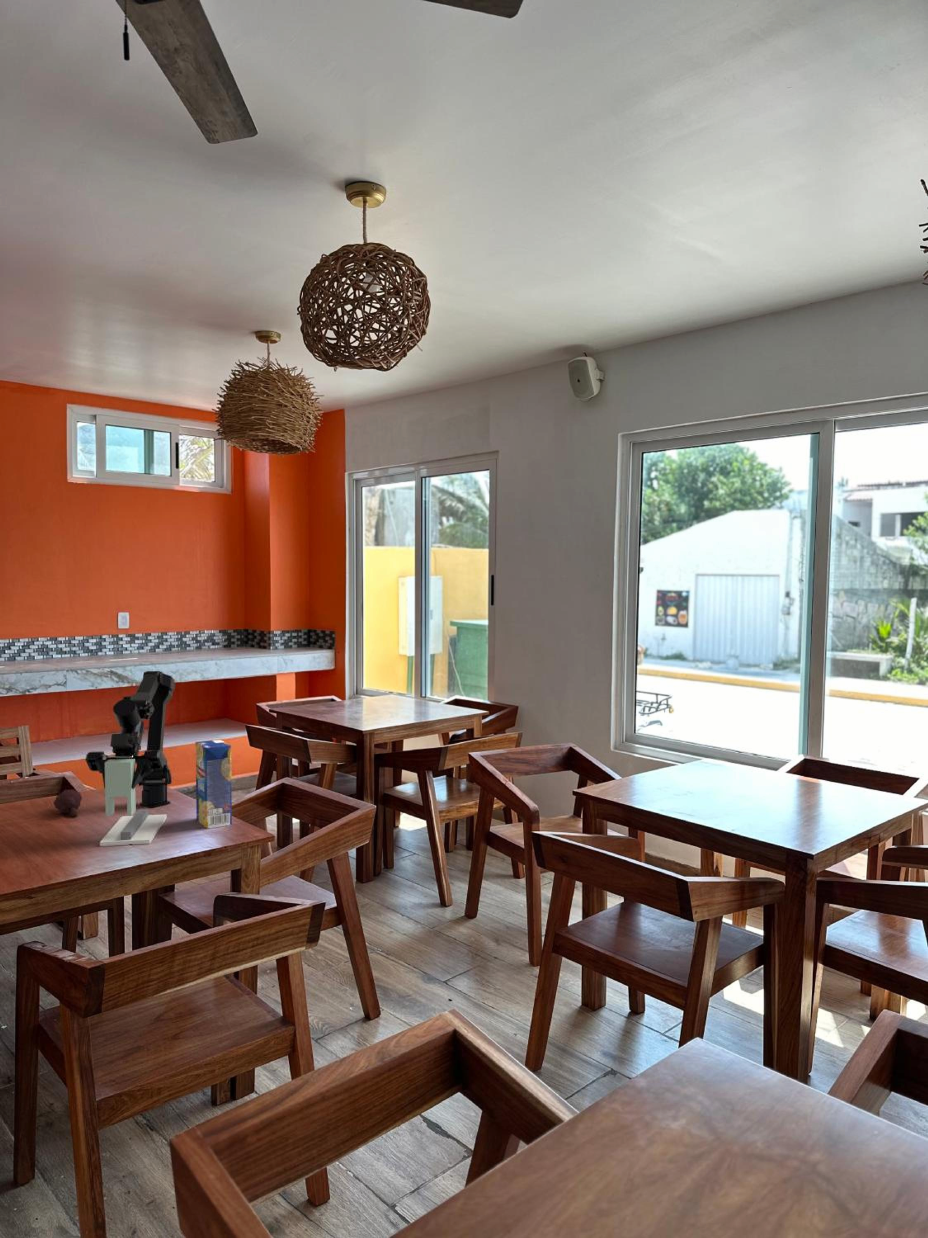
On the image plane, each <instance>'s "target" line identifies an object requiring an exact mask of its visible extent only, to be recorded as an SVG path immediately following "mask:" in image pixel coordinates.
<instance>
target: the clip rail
mask: <svg viewBox="0 0 928 1238" xmlns="http://www.w3.org/2000/svg"><path fill="white" fill-rule="evenodd" d="M166 820H167V813H166V814H149V809H148V808H143V809H142V808H141V809H138V810H136V812H135V813H134V814H133V815H132V816H127V815H125V816H124V815H123V816H121V817H120V818H119V819H118V821H116V823H115V824H114V825H113V826H112V827H111V828H110V829H109V831H108V832H107V833H106V834H105V836H103V838H102V839H101V840H100V841H99V847H108V846H110V847H112V846H113V847H114V846H128V845H129V844H133V845H143V844H144V845H150V844H151V843H152V841H153V839H154V837H155V836H156V835H157V834H158V832H159V830H160V829H161V827H162V826H163V824H164V823H165V821H166Z"/></svg>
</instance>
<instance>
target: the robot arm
mask: <svg viewBox="0 0 928 1238" xmlns="http://www.w3.org/2000/svg"><path fill="white" fill-rule="evenodd" d="M175 689H176V680H175V679H174V678H173V676H171V675H169V674H166V673H164V672H162V671H160V670H146V671H144V672H143V676H142V679H141V682H139V685H138V688H137V689H136V691H135V693H134V694H131V695H130V696H123V698H122V699H121V700H118V701H117V702H116V703H115V704H114V705H113V707H112V710H113V711H112V712H113V714H114V717H115V719H116V721H117V724H118V726H119V727H120V729H121V730H120V732H119V733H112V734H111V737H110V743H109V744H110V745H109V746H110V747H111V748H112V750H111V752H112V753H113V754H114V755H107V754H106V753H105V752H104V751H101V750H99V751H89V752H88V753H86V756H85V762H86V765H87V766H88V768H89V771H92V772H98V773H100V774H101V775H102V783H103V787H104V788H103V789H105V762H107V761H108V760H110V759H135V765H136V766H135V774H134V777H133V780H132V786H131V787H132V789H134V788H135V789H136V788H137V786H138V787H141V786H142V790H141V802H140V803H139V805H140V806H144V807H147V808H148V807H149V808H156V807H160V806H164V805H168V804H171V801H170V800H168V785H172V783H173V782H172V781H173V780H172V777H173V776H172V773H171V769H170V767H169V765H168V759H167V758H166V756H165V754H164V752H163V750H164V738H165V737H164V735H165V734H164V733H165V725H166V724H165V723H166V722H165V721H166V710H167V709H166V708H167V705H168V703H169V702H170V701H171V700H172V698H173V693H174V692H173V691H175ZM143 720H144V721H145V720H148V730H147V741H146V742H147V743H146V750H144V753H143V754H141V755H139V753H140V751H141V750H142V739H143V735H144V733H145V725H146V724H145V723H144V721H143Z"/></svg>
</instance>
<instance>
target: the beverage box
mask: <svg viewBox="0 0 928 1238" xmlns="http://www.w3.org/2000/svg"><path fill="white" fill-rule="evenodd" d="M195 788H196V789H195V798H196V799H195V802H196V803H195V804H196V807H195V810H196V814H195V815H196V820H197V821H198V822H199V823H200V824H201V825H202V826H203V825H204V826H203V827H204V828H206V829H214V828H219V827H226V825H227V826H232V825H233V808H232V807H233V806H232V804H233V803H232V802H233V801H232V799H233V797H232V795H233V793H232V745H230V744H228V743H227V742H225V741H223V740H221V739H214V740H213V739H212V740H204V741H203V740H202V741H195Z"/></svg>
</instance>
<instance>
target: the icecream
mask: <svg viewBox="0 0 928 1238" xmlns="http://www.w3.org/2000/svg"><path fill="white" fill-rule="evenodd" d="M82 798H83V797H82V793H81V792H79V791H77V790H75V789H72V788H71V789H64V790H63V791H61V792H60V793H58V794H57V796H56V798H55V800H54V802H53V804H54V806H55V807H54V808H55V809H56V810H58V811H59V812H61V813H65V814H70V815H72V817H73V818H76V817H78V814H79V813H78V809H79V808H80V806H81V802H82Z"/></svg>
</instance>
